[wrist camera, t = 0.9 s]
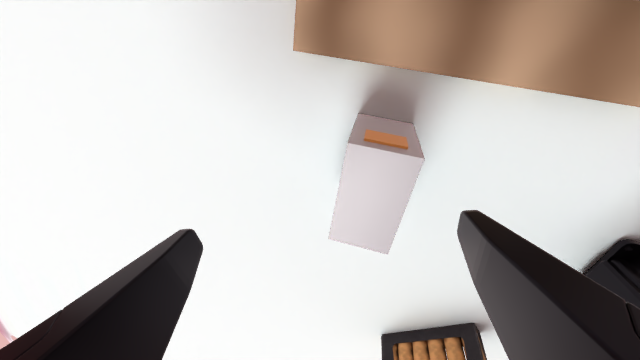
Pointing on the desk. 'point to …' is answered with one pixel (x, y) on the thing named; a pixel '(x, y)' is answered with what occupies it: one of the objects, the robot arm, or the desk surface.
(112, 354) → the robot arm
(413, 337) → the ammunition clip
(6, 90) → the desk surface
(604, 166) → the desk surface
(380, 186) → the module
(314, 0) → the rail base
